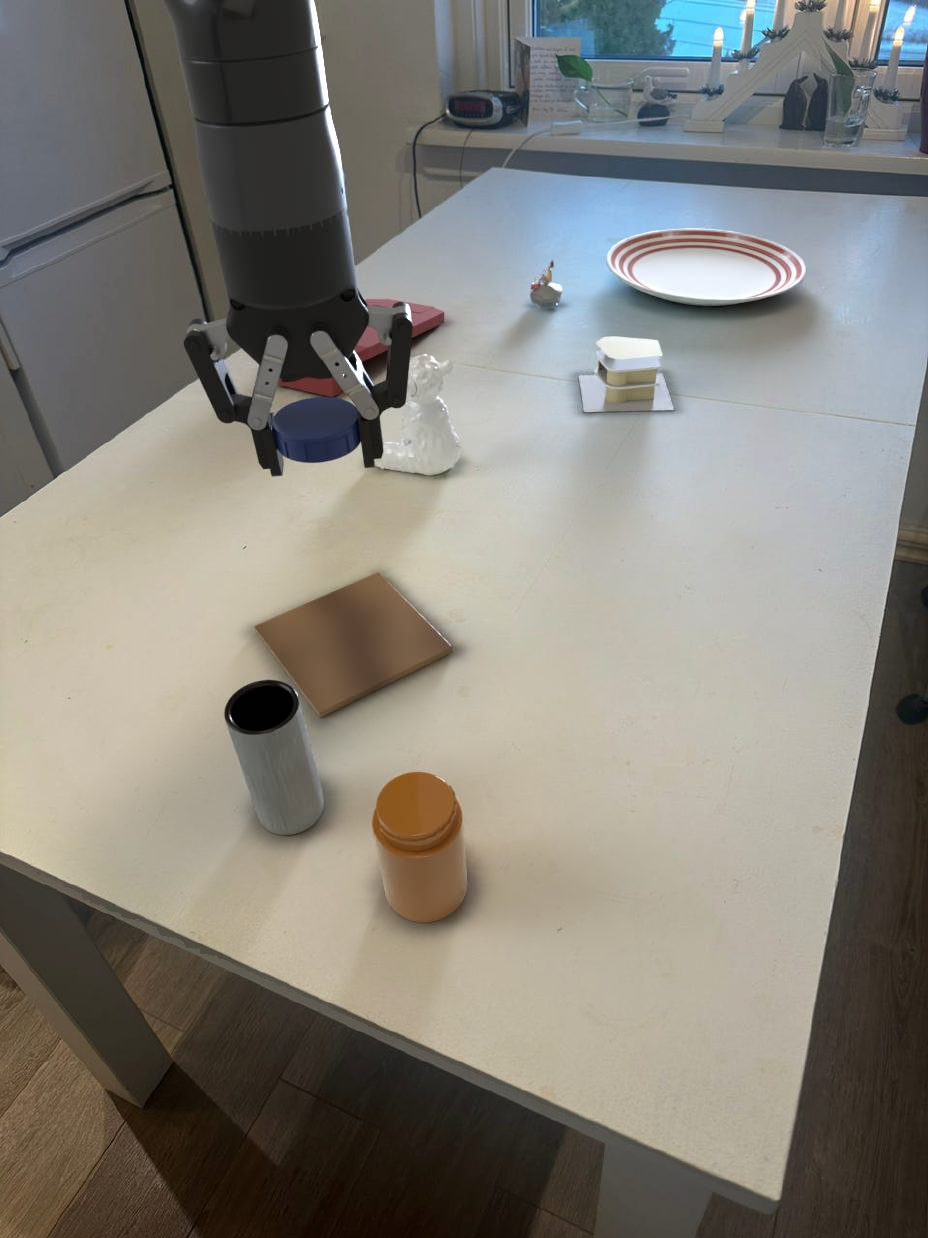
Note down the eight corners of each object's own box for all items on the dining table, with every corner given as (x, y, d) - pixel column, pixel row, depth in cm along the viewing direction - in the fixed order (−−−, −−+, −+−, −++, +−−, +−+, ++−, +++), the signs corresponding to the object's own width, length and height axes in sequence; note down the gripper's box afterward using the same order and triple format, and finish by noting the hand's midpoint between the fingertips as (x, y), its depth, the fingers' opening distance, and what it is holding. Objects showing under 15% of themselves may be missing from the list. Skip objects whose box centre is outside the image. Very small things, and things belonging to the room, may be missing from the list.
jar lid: (376, 428, 59) (374, 404, 58) (334, 470, 55) (330, 446, 54) (305, 414, 61) (301, 390, 60) (260, 453, 57) (255, 430, 56)
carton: (374, 331, 125) (263, 381, 106) (373, 296, 122) (259, 340, 104) (448, 345, 121) (346, 400, 102) (449, 309, 118) (344, 358, 99)
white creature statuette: (431, 429, 97) (424, 324, 89) (487, 457, 92) (484, 348, 84) (366, 464, 92) (351, 356, 84) (421, 494, 87) (412, 383, 79)
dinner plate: (783, 247, 133) (788, 224, 131) (821, 321, 113) (827, 295, 111) (602, 249, 136) (603, 226, 134) (607, 321, 116) (608, 297, 114)
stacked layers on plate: (662, 373, 104) (667, 328, 101) (673, 410, 98) (679, 364, 94) (578, 375, 105) (580, 331, 101) (584, 412, 98) (586, 366, 94)
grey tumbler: (326, 830, 58) (300, 727, 51) (257, 841, 58) (222, 739, 51) (323, 776, 61) (298, 673, 54) (258, 787, 61) (224, 684, 54)
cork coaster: (320, 718, 65) (318, 713, 65) (255, 631, 73) (253, 625, 73) (453, 652, 70) (453, 646, 70) (379, 576, 78) (378, 571, 77)
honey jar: (402, 936, 52) (388, 856, 46) (372, 867, 56) (356, 785, 50) (481, 902, 54) (476, 820, 48) (447, 837, 57) (439, 754, 51)
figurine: (563, 311, 119) (565, 266, 115) (531, 313, 119) (531, 268, 115) (559, 296, 123) (560, 252, 119) (528, 297, 123) (528, 254, 119)
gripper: (133, 235, 45) (211, 507, 56) (411, 212, 45) (434, 486, 57) (156, 192, 50) (223, 447, 62) (404, 172, 51) (425, 428, 62)
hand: (324, 465), depth 59 cm, fingers closed on jar lid, 5 cm apart
